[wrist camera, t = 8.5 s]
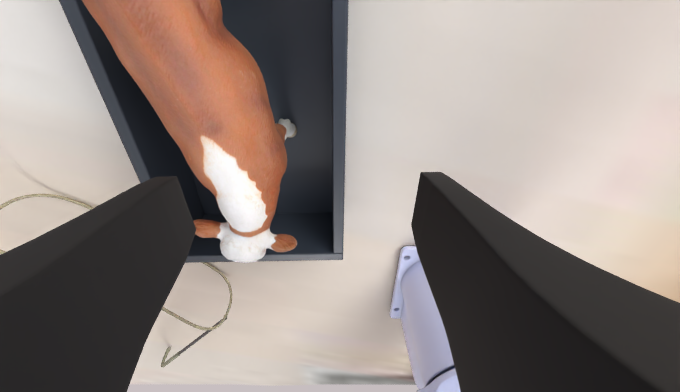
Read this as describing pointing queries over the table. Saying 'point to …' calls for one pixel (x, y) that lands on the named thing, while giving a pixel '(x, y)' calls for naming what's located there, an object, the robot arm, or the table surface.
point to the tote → (285, 101)
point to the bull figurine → (208, 111)
